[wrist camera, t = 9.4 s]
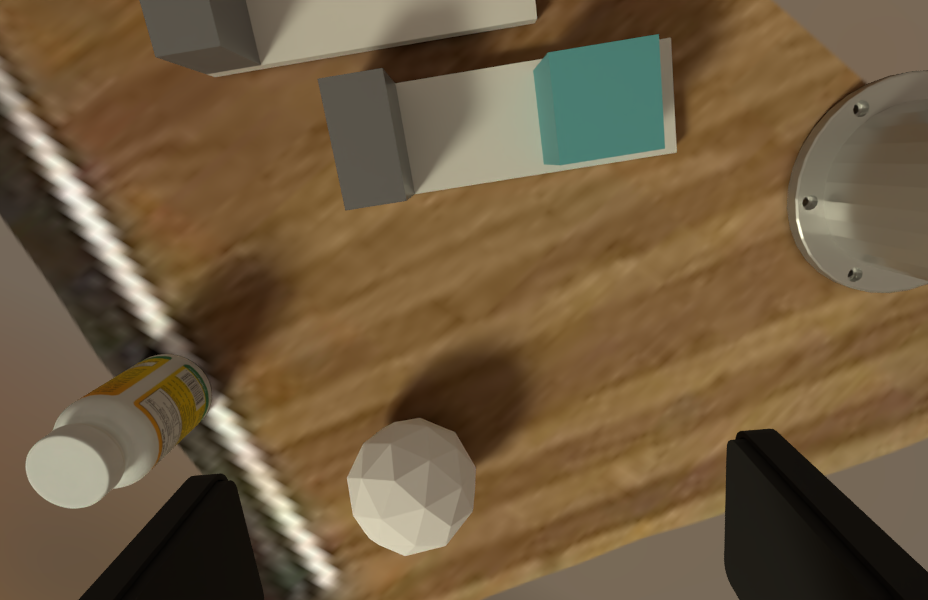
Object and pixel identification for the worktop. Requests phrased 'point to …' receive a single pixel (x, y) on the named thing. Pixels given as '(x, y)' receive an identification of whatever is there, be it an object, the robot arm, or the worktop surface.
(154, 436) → the supplement bottle
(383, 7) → the empty strip
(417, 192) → the strip with cube
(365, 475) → the ball
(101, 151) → the worktop surface
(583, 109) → the cube
